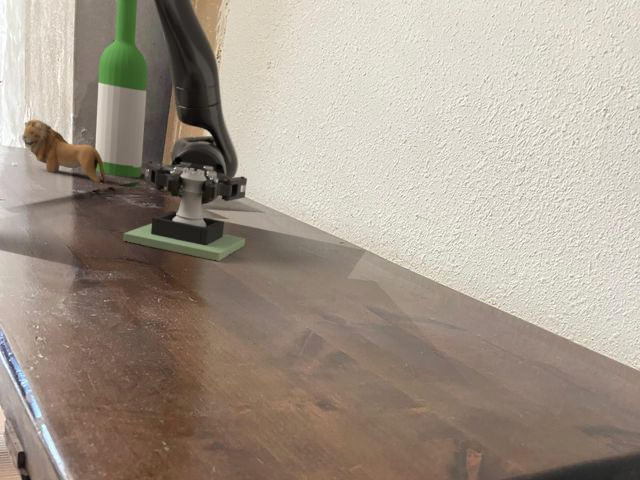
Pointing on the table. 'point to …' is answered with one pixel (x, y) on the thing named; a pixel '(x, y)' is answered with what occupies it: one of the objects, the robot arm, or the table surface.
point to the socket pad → (186, 237)
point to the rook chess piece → (191, 198)
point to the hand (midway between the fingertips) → (191, 190)
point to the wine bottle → (122, 99)
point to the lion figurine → (61, 151)
